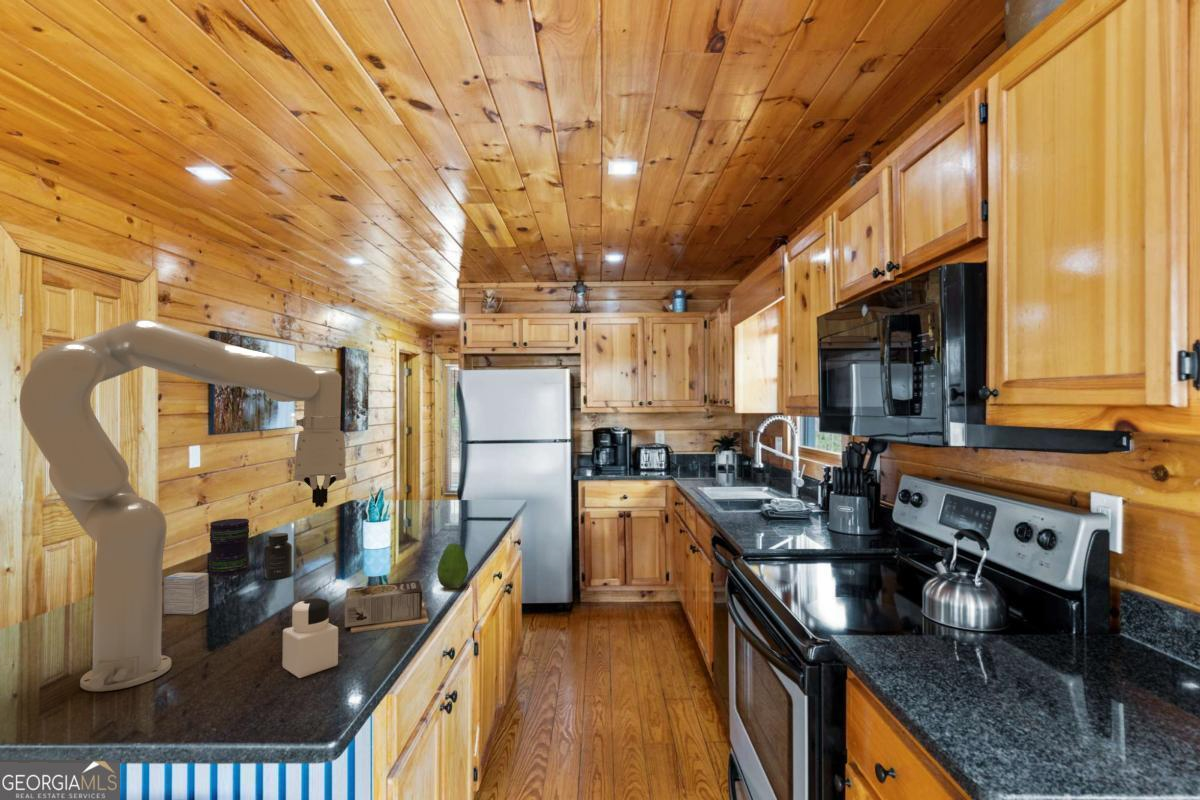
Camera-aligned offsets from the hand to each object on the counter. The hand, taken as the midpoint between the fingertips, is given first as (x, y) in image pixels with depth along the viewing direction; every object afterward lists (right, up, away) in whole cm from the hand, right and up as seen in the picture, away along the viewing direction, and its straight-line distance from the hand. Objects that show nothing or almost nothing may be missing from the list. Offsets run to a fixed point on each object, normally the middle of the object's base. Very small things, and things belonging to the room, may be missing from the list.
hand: (319, 506), depth 130 cm
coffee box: (+7, -22, -2) cm, 23 cm away
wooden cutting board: (+14, -26, +5) cm, 30 cm away
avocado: (+24, -27, +24) cm, 43 cm away
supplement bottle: (-29, -27, +35) cm, 53 cm away
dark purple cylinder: (-46, -27, +40) cm, 66 cm away
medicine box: (-35, -26, +6) cm, 44 cm away
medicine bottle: (+10, -26, -23) cm, 36 cm away
